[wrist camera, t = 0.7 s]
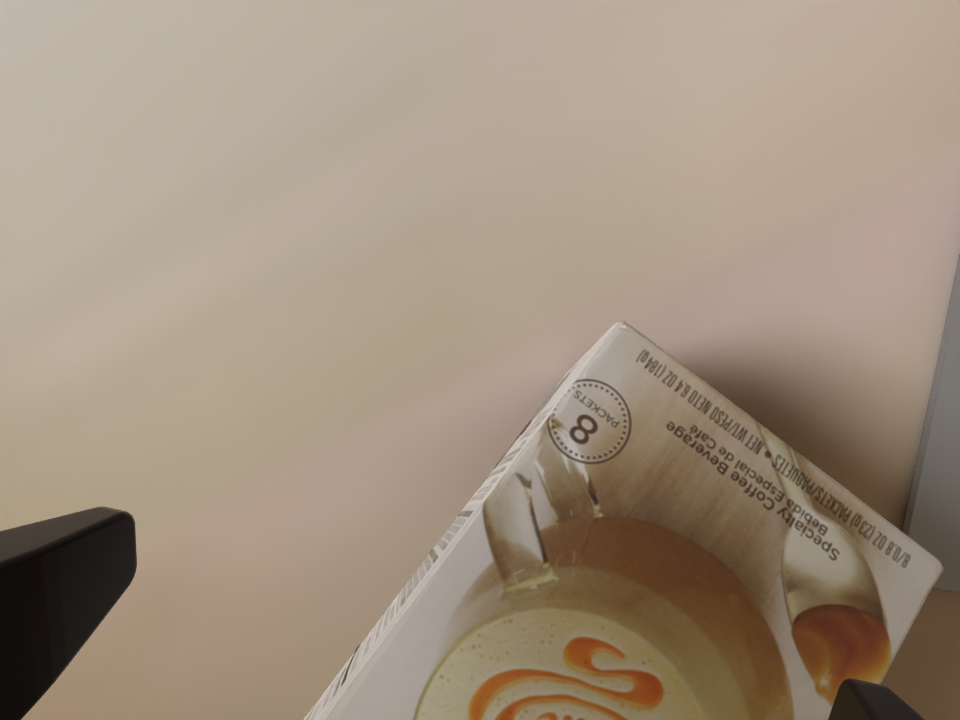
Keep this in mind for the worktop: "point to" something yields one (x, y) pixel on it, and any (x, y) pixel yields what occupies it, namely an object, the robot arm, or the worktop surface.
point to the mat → (941, 459)
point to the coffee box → (642, 570)
